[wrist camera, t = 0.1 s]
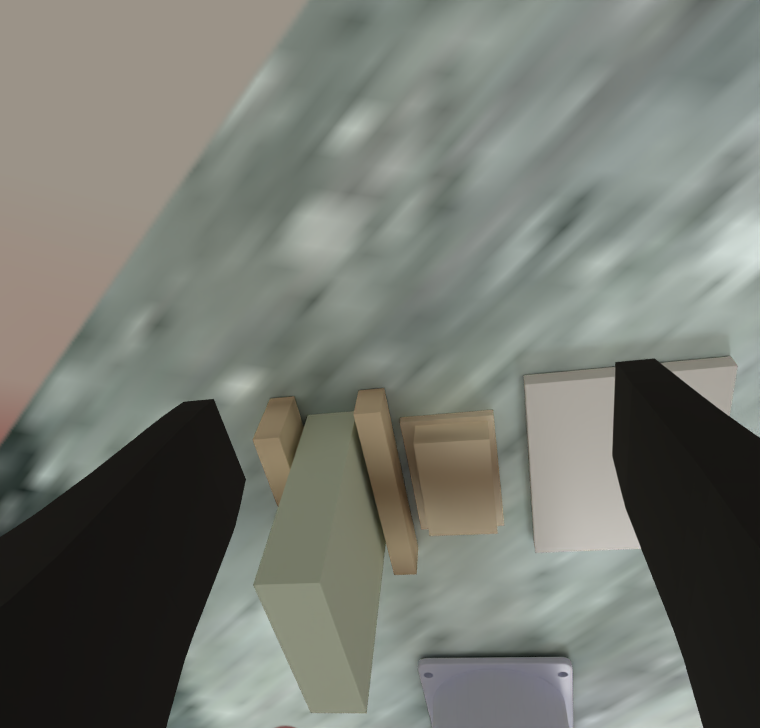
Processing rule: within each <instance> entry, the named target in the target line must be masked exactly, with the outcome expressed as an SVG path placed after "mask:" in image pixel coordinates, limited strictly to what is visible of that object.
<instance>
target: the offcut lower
mask: <svg viewBox="0 0 760 728" xmlns="http://www.w3.org/2000/svg"><path fill="white" fill-rule="evenodd" d="M478 421H488V428H489V440H490V451H491V463H492V474H493V486H494V498H495V509H496V521H497V526H504V517H503V507H502V496H501V486H500V476H499V466H498V456H497V445H496V435H495V425H494V415H493V410H484V411H472V412H460V413H447V414H435V415H423V416H411V417H400V426H401V431H402V436H403V441H404V446H405V451H406V455H407V460H408V465H409V470H410V475H411V480H412V485H413V490H414V495H415V500H416V505H417V510H418V515H419V519H420V524H421V529H428V524H427V518H426V512H425V507H424V501H423V495H422V489H421V484H420V478H419V472H418V466H417V460H416V455H415V449H414V433H415V426H419V425H434V424H449V423H463V422H478Z"/></svg>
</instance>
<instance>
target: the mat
mask: <svg viewBox="0 0 760 728" xmlns="http://www.w3.org/2000/svg"><path fill="white" fill-rule="evenodd" d="M661 364H662V365H663V366H665V367H666V368H667V369H669V370H670V371H671V372H672V373H674V374H675V375H676V376H677V377H679V378H680V379H681V380H683V381H684V382H685V383H686V384H688V385H689V386H690V387H691V388H693V389H694V390H695V391H697V392H698V393H699V394H700V395H702V396H703V397H704V398H706V399H707V400H708V401H710V402H711V403H712V404H714V405H715V406H716V407H718V408H719V409H720V410H722V411H723V412H724V413H726V414H727V415H728V416H730V410H731V404H732V398H733V392H734V386H735V379H736V373H737V367H738V365H737V364H736V363H735V361H734V360H733V359H732V357H731V356H728V357H718V358H707V359H696V360H685V361H674V362H663V363H661ZM523 376H524V392H525V408H526V424H527V440H528V456H529V472H530V488H531V504H532V520H533V536H534V546H535V553H543V552H568V551H594V550H619V549H641V547H640V544H639V542H638V539H637V537H636V534H635V532H634V529H633V526H632V524H631V521H630V519H629V516H628V513H627V511H626V508H625V505H624V501H623V497H622V493H621V489H620V486H619V482H618V478H617V474H616V469H615V465H614V461H613V457H612V444H613V417H614V390H615V367H609V368H598V369H587V370H576V371H565V372H554V373H543V374H532V375H523Z"/></svg>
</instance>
